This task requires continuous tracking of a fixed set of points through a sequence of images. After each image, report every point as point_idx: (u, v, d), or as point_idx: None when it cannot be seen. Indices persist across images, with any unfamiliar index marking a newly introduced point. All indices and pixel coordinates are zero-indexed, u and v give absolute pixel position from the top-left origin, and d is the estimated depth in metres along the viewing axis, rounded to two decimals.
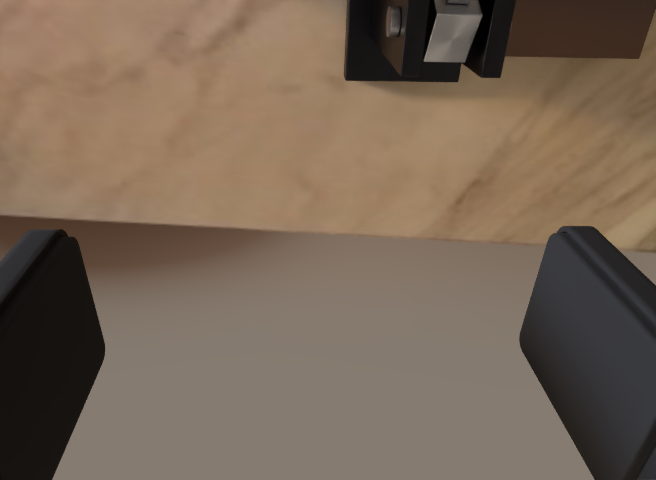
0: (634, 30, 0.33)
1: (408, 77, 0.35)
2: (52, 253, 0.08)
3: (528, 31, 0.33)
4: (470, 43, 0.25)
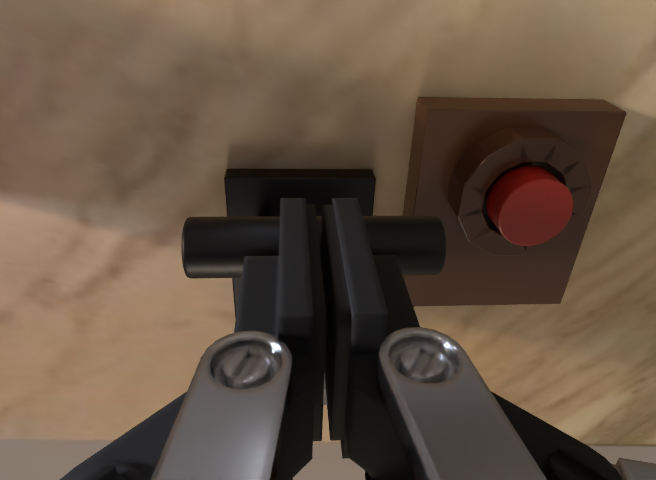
0: (552, 280, 0.30)
1: None
2: (311, 216, 0.10)
3: (433, 285, 0.29)
4: None
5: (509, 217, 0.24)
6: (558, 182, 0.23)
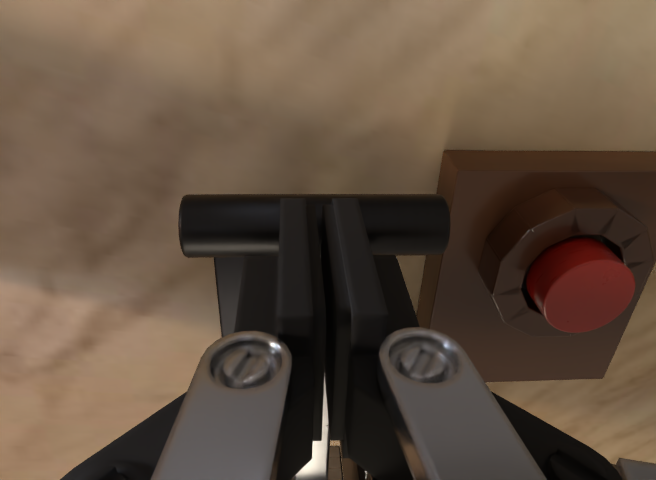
0: (596, 354, 0.26)
1: None
2: (311, 216, 0.10)
3: None
4: None
5: (557, 302, 0.20)
6: (619, 263, 0.19)
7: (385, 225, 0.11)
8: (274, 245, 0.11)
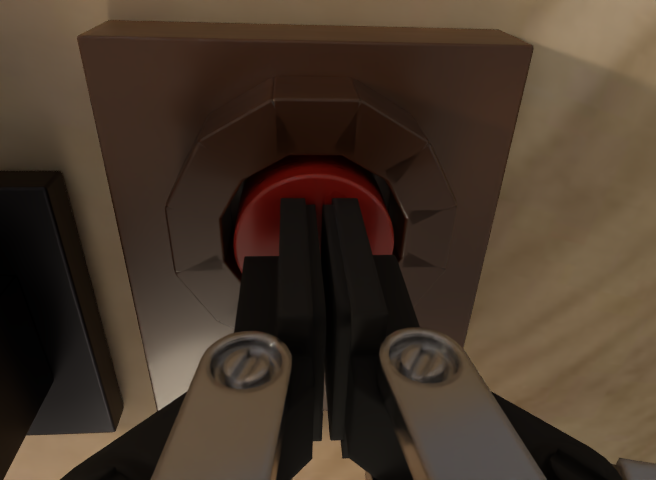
0: None
1: None
2: (311, 216, 0.10)
3: None
4: None
5: (257, 255, 0.11)
6: (348, 181, 0.10)
7: None
8: None
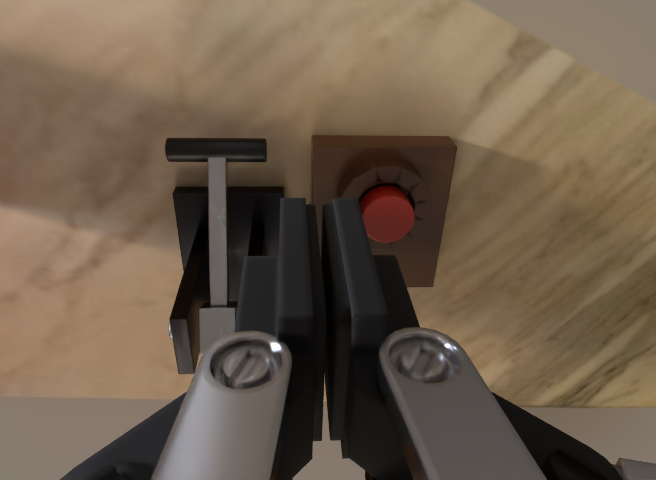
0: (423, 269, 0.40)
1: None
2: (311, 216, 0.10)
3: None
4: None
5: (369, 222, 0.34)
6: (400, 197, 0.33)
7: (241, 142, 0.30)
8: (199, 149, 0.30)
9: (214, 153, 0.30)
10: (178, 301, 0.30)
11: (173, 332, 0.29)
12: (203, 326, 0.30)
